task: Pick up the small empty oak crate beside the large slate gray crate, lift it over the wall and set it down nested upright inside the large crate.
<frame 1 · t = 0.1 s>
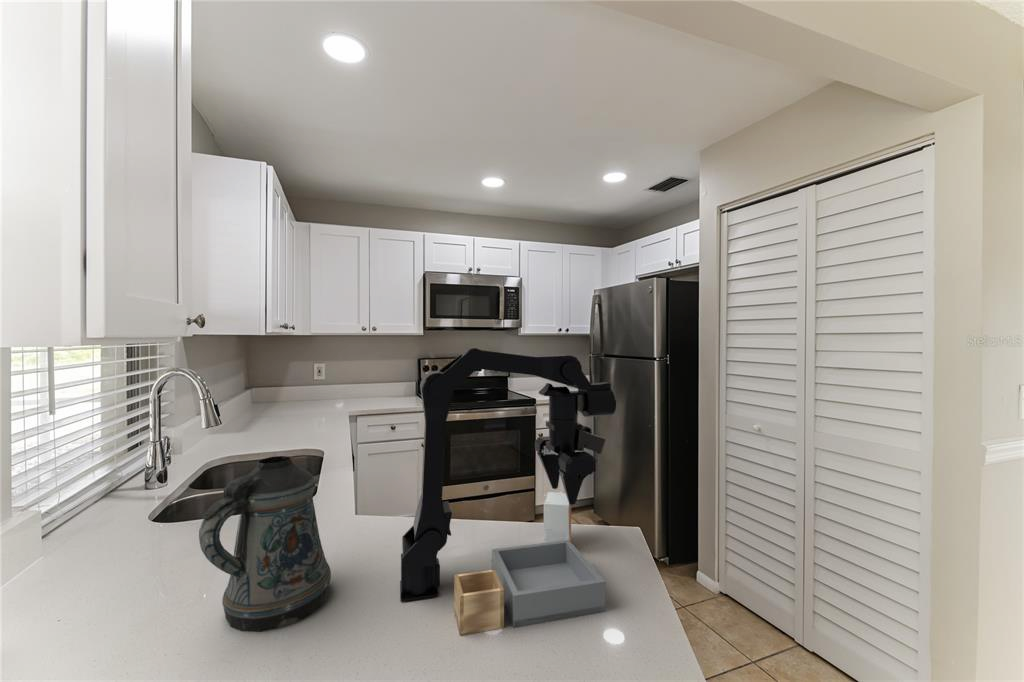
hand: (563, 496, 86), 15 cm above the counter, tool pointing down, fingers open, 9 cm apart
oak crate: (478, 619, 70), on the counter
beer stein: (274, 608, 73), on the counter
slate gray crate: (544, 592, 78), on the counter
small box: (558, 546, 96), on the counter
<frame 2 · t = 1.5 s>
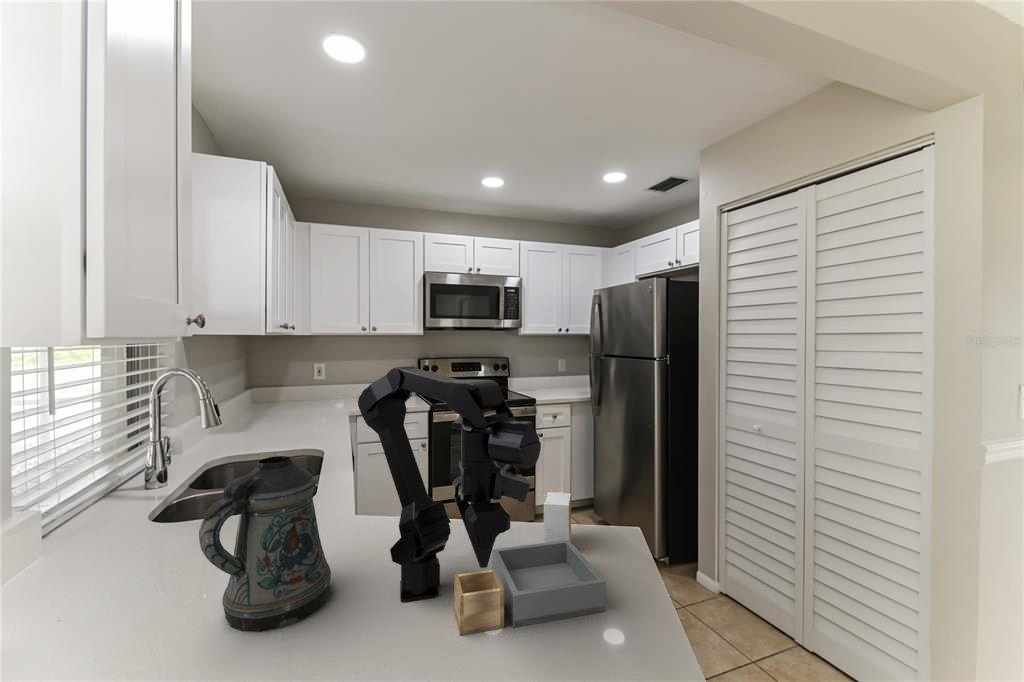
hand: (478, 553, 71), 11 cm above the counter, tool pointing down, fingers open, 9 cm apart
nothing on the counter moved.
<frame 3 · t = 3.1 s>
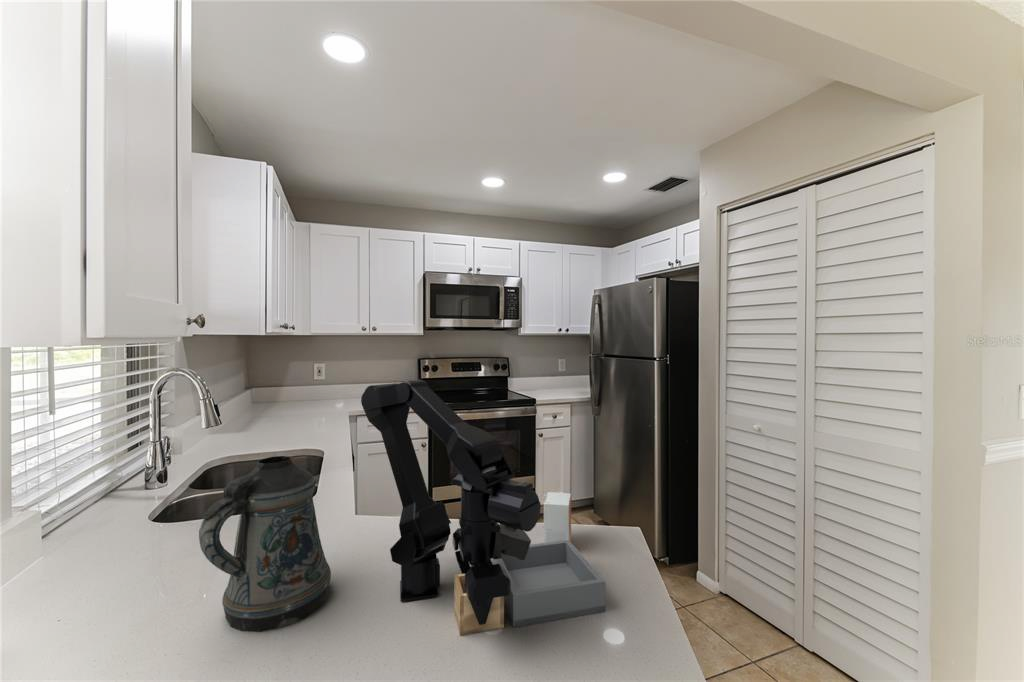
hand: (478, 611, 70), 1 cm above the counter, tool pointing down, fingers closed on oak crate, 6 cm apart
oak crate: (478, 619, 70), on the counter, touching gripper
everything else where it was.
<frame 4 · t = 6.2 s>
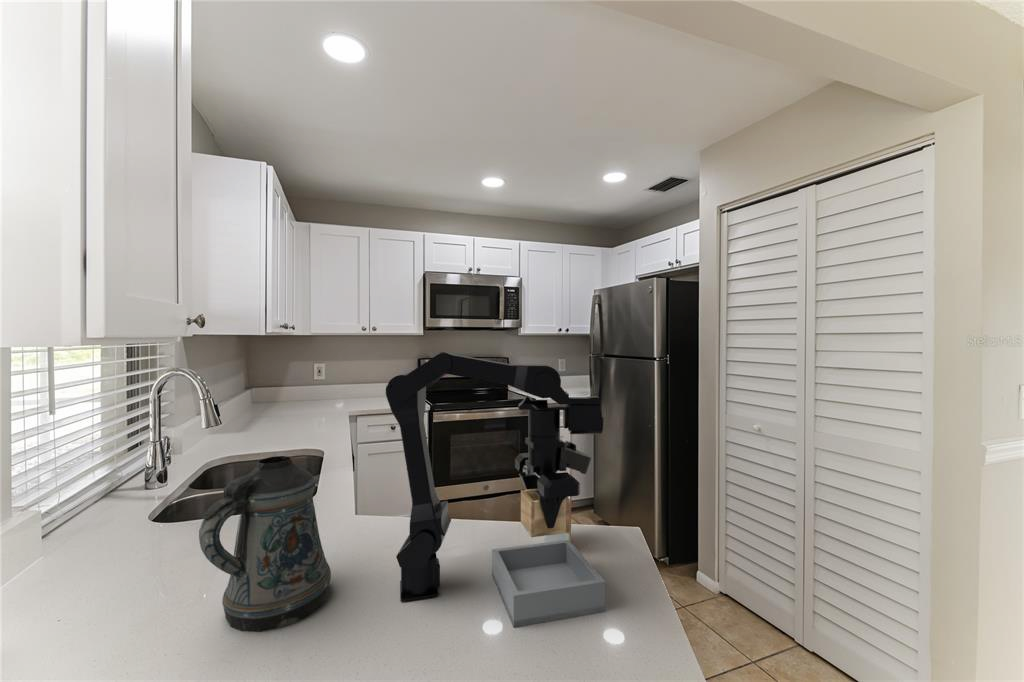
hand: (544, 520, 78), 13 cm above the counter, tool pointing down, fingers closed on oak crate, 6 cm apart
oak crate: (544, 527, 78), point 12 cm above the counter, touching gripper
everything else where it was.
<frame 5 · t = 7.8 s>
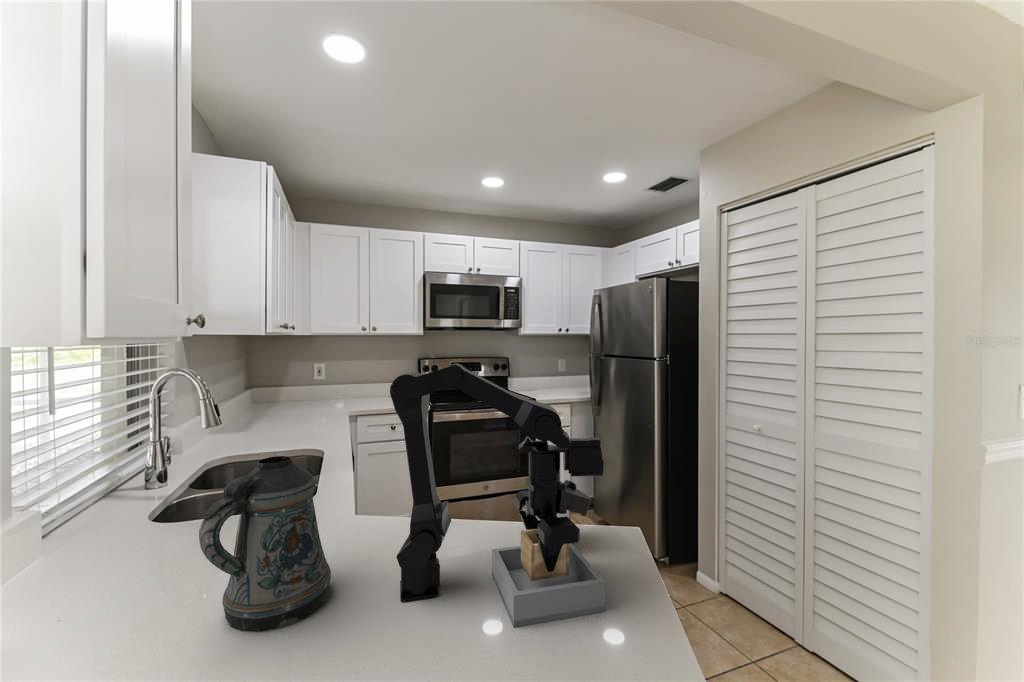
hand: (544, 561, 78), 5 cm above the counter, tool pointing down, fingers closed on oak crate, 6 cm apart
oak crate: (544, 569, 78), point 4 cm above the counter, touching gripper
everything else where it was.
when the fingers open (4 cm above the counter, at t = 9.2 s): oak crate drops 1 cm, resting on slate gray crate.
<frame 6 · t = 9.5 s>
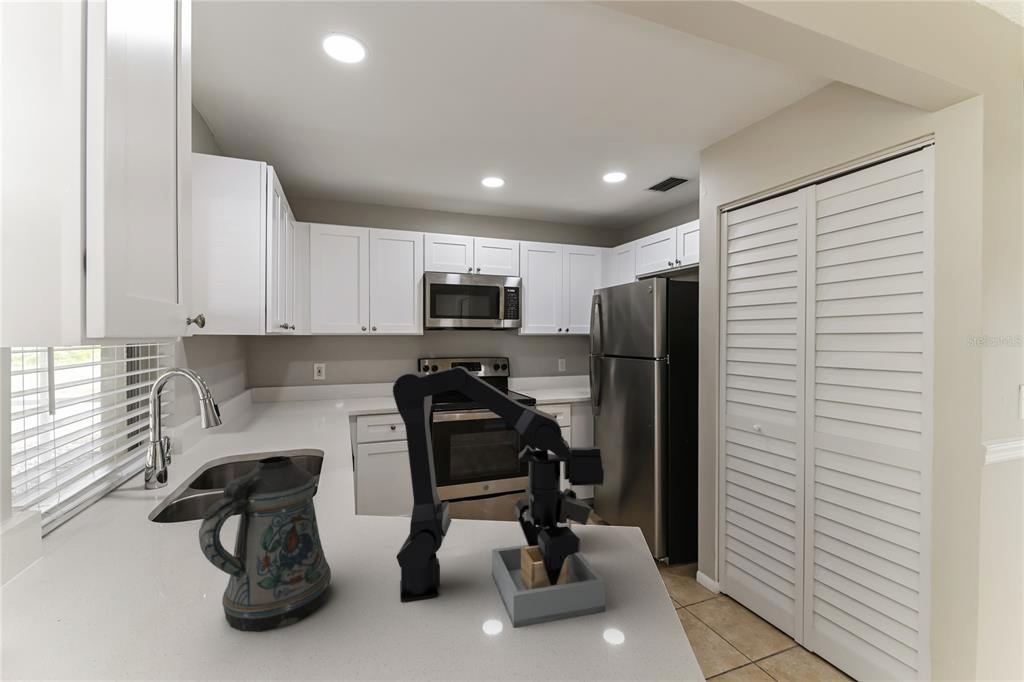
hand: (544, 571, 78), 4 cm above the counter, tool pointing down, fingers open, 9 cm apart
oak crate: (544, 586, 78), point 1 cm above the counter, touching slate gray crate
everything else where it was.
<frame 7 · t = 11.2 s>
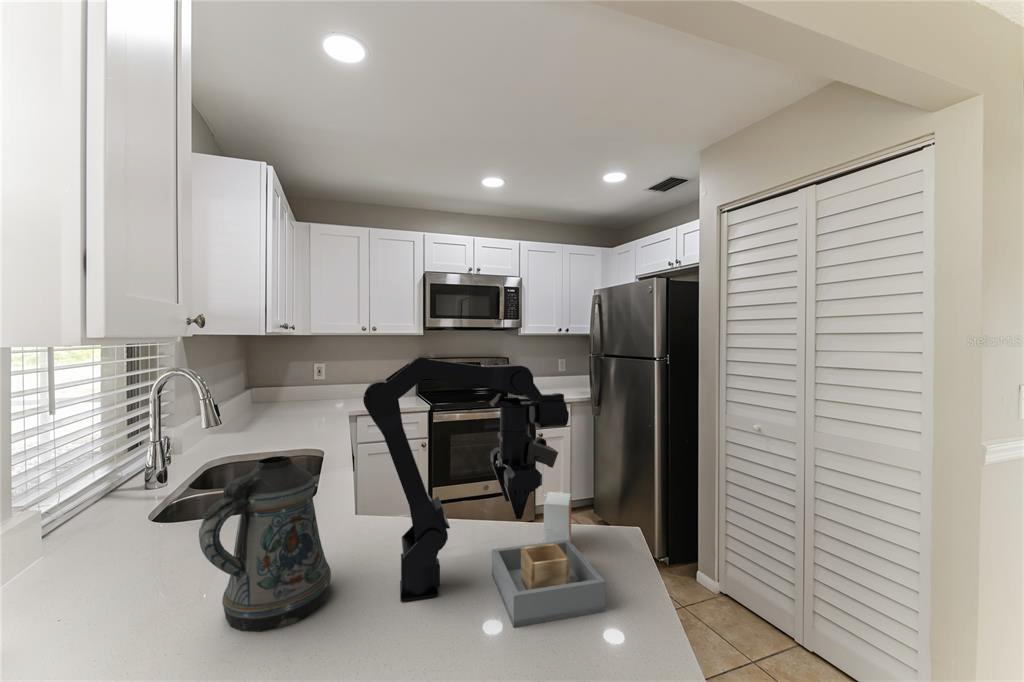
hand: (513, 509, 84), 13 cm above the counter, tool pointing down, fingers open, 9 cm apart
nothing on the counter moved.
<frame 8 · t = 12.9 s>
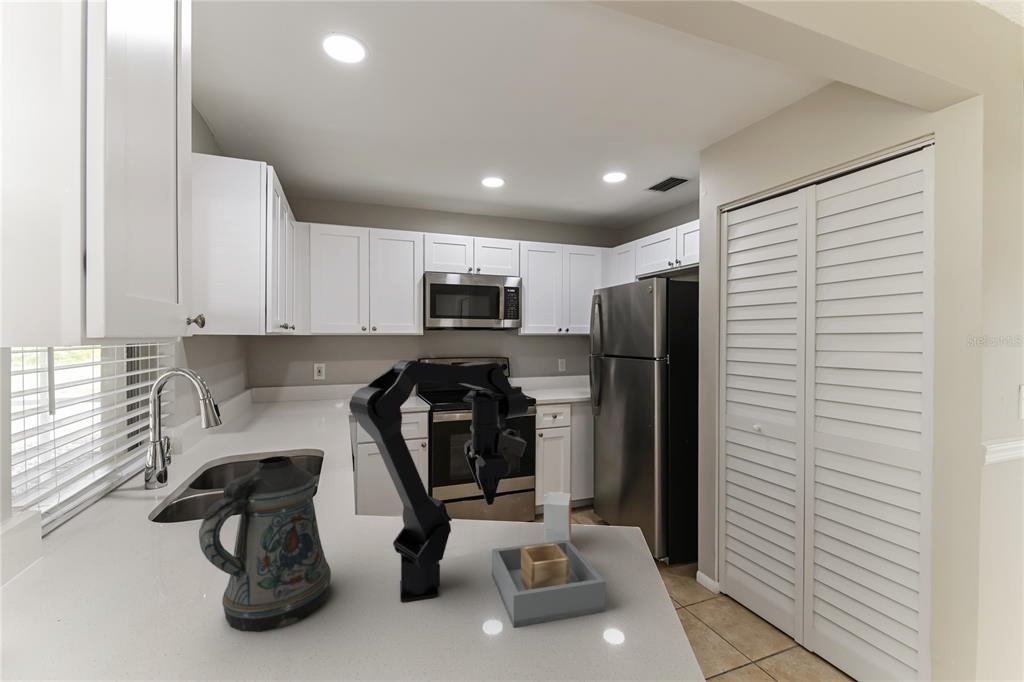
hand: (485, 496, 90), 13 cm above the counter, tool pointing down, fingers open, 9 cm apart
nothing on the counter moved.
at the end: oak crate inside the target area on the slate gray crate (0.0 cm from its centre), point 1.0 cm above the slate gray crate's base; oak crate tilted 0°; the gripper is holding nothing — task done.
